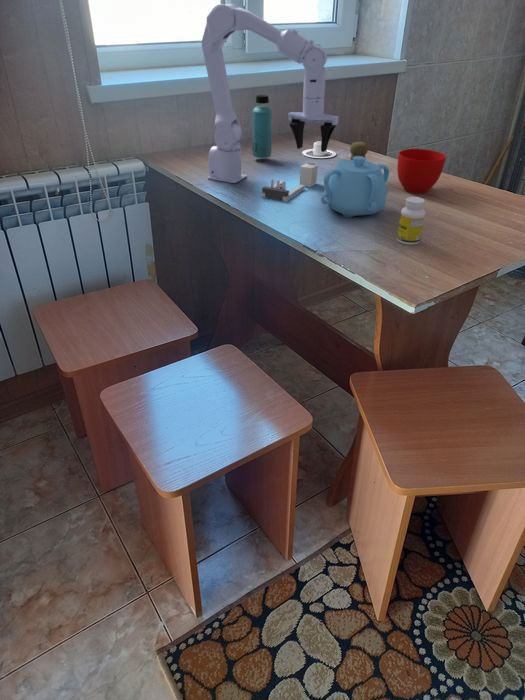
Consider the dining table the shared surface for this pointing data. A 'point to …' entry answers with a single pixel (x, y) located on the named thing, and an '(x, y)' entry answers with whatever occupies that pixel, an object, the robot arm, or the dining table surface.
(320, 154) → the candle holder
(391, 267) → the dining table surface
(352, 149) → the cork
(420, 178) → the ceramic cup
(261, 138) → the beverage bottle
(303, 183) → the plug block
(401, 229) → the supplement bottle
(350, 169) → the decorative pot
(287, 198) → the socket
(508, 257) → the dining table surface
